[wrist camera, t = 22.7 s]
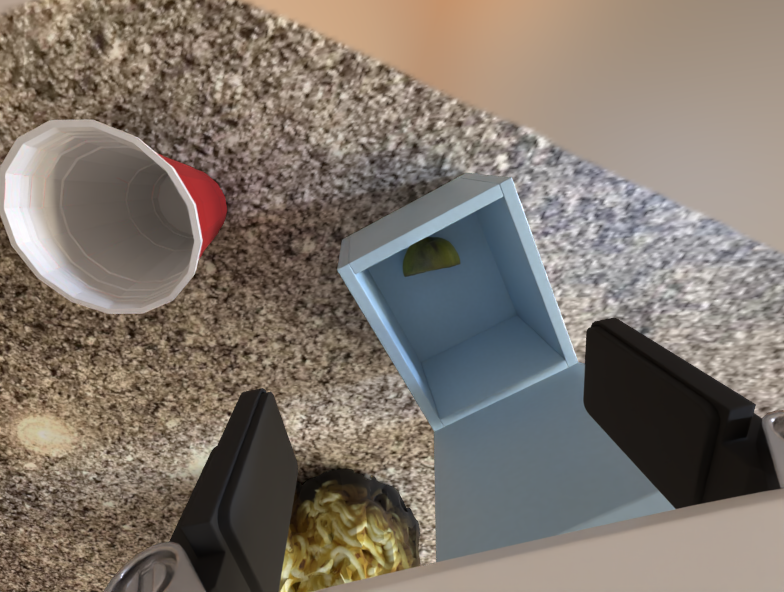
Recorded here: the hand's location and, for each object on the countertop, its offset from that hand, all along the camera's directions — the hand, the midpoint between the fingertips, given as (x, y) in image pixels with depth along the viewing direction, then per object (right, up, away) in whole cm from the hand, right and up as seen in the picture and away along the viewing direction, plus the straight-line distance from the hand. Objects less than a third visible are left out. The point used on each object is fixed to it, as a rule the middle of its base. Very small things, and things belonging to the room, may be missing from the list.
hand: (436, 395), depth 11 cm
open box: (+3, +5, +25) cm, 26 cm away
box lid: (+7, -5, +10) cm, 13 cm away
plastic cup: (-19, +11, +21) cm, 30 cm away
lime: (+2, +7, +23) cm, 24 cm away
